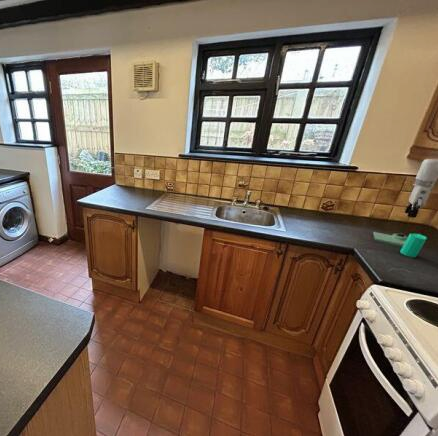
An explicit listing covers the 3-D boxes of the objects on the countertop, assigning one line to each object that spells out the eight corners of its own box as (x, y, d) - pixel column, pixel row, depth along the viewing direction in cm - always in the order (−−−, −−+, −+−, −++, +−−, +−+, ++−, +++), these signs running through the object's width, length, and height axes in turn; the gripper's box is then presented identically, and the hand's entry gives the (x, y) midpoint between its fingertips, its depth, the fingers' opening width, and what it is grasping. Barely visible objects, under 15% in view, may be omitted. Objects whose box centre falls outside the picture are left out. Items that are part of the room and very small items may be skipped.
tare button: (403, 236, 138) (404, 233, 138) (404, 237, 136) (405, 235, 135) (396, 234, 140) (397, 231, 139) (397, 236, 138) (398, 233, 137)
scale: (404, 240, 139) (406, 235, 138) (409, 248, 130) (411, 243, 129) (372, 233, 147) (374, 229, 146) (374, 240, 138) (376, 235, 137)
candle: (413, 253, 125) (425, 232, 120) (418, 258, 120) (430, 237, 115) (398, 249, 127) (409, 229, 122) (402, 254, 123) (413, 233, 118)
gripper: (439, 187, 118) (423, 221, 125) (429, 181, 131) (415, 212, 138) (417, 185, 122) (403, 217, 129) (410, 179, 135) (397, 209, 142)
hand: (409, 214), depth 133 cm, fingers open, 6 cm apart
